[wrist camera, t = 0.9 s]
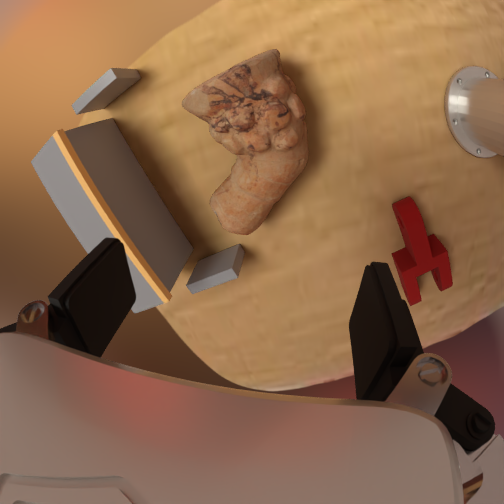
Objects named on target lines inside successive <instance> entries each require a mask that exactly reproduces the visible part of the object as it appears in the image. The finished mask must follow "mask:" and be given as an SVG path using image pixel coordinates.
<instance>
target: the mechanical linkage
mask: <svg viewBox="0 0 504 504" xmlns="http://www.w3.org/2000/svg"><path fill="white" fill-rule="evenodd" d="M392 207H393V210H394V213H395V216H396V219H397V221H398V224H399V227H400V230H401V233H402V236H403V239H404V242H405V246H406V247H405V248H403V249H401V250H398V251H396V252H394V253H392V257H393V259H394V262H395V265H396V268H397V271H398V275H399V278H400V281H401V284H402V287H403V290H404V293H405V295H406V298H407V300H408V302H409V305H410V306H412V305H414V304H416V303H418V302H420V301H421V295H420V291H419V287H418V283H417V279H416V277H418V276H420V275H422V274H424V273H426V272H428V271H430V270H431V272H432V275H433V278H434V280H435V282H436V284H437V286H438V288H439V290H440V291H443V290H445V289H447V288H449V287H451V286H452V285H453V282H452V275H451V268H450V262H449V257H448V251H447V250H446V248H445V247H444V246H443V245H442V243H441V242H440V241H439V240H438V238H437V237H436V236H435V235H434V234H432V235H430V236H428V237H427V233H426V229H425V226H424V222H423V219H422V216H421V214H420V212H419V210H418V208H417V206H416V204H415V202H414V201H413V200H412V198H411V197H406V198H404V199H402V200H400V201H398V202H396V203H394V204H392Z"/></svg>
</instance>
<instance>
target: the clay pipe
mask: <svg viewBox="0 0 504 504" xmlns="http://www.w3.org/2000/svg"><path fill="white" fill-rule="evenodd" d="M296 90H297V89H296V87H295V85H294V83H293V81H292V80H291V79H290V78H289V76H287V75H285V74H284V73H283V71H282V67H281V61H280V53H279V51H278V50H277V49H272V50H268V51H266V52H263V53H261V54H258V55H256V56H254V57H252V58H250V59H248V60H245V61H243V62H241V63H239V64H237V65H235V66H233V67H232V68H230V69H228V70H227V71H225V72H223V73H220V74H218V75H216V76H214V77H212V78H211V79H209V80H207V81H206V82H204V83H202V84H201V85H199V86H197V87H196V88H194V89H193V90H192V91H191V92H189V93H188V94H187V96H186V97H185V98H184V99H183V101H182V106H183V107H184V108H185V109H186V110H187V111H189V112H190V113H192V114H194V115H195V116H197V117H199V118H200V119H202V120H204V121H206V122H208V124H209V132H210V134H211V136H212V137H213V138H214V139H215V140H216V141H217V142H218V143H220V144H223V146H224V147H225V148H226V149H227V150H229V151H230V152H231V153H233V154H236V155H237V160H236V162H235V164H234V165H233V167H232V169H231V174H230V176H229V177H228V178H227V179H226V180H225V181H224V182H223V183H222V184H221V185H220V186H219V187H218V189H217V190H216V191H215V192H214V193H213V194H212V197H211V199H210V205H211V207H212V210H213V211H214V213H215V214H216V215H217V217H218V220H219V221H220V223H221V225H222V227H223V229H225V230H227V231H229V232H231V233H235V234H241V235H249V234H251V233H252V232H254V231H255V230H256V229H257V228H258V227H259V226H260V225H261V224H262V222H263V221H264V220H265V218H266V217H267V215H268V213H269V212H270V210H271V208H272V207H273V205H274V203H276V202H278V201H279V200H280V199H281V197H282V195H283V194H284V193H285V191H286V190H287V189H288V187H289V186H290V185H291V184H292V182H293V181H294V180H295V179H296V178H297V177H298V176H299V175H300V173H301V172H302V171H303V169H304V168H305V166H306V164H307V161H308V143H307V126H306V123H305V122H304V121H303V120H304V118H305V115H306V111H305V108H304V105H303V104H302V102H301V100H300V98H299V97H298V95H296V94H295V93H296Z"/></svg>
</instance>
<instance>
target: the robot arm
mask: <svg viewBox="0 0 504 504" xmlns="http://www.w3.org/2000/svg"><path fill="white" fill-rule="evenodd" d="M445 113H446V118H447V122H448V126H449V128H450V130H451V133H452V135H453V136H454V138H455V140H456V141H457V142H458V143H459V145H460V146H461V147H462V148H463V149H465V150H466V151H467V152H469V153H471V154H473V155H475V156H477V157H482V158H489V157H493V156H495V155H497V154H499V155H501V156H503V157H504V79H498V78H497V76H496V75H495V74H493V73H492V72H490V71H489V70H487V69H485V68H483V67H478V66H468V67H464V68H462V69H460V70H458V71H457V72H456V73H455V74H454V75H453V76H452V78H451V79H450V81H449V83H448V86H447V89H446V94H445ZM48 298H49V301H50V305H49V306H48V305H47V303H46V302H44V301H42V300H36V301H32V302H30V303H28V304H27V305H25V306H24V307H23V308H22V309H21V310H20V312H19V314H18V318H17V322H16V323H14V324H11V325H9V326H6V327H3V328H1V329H0V504H504V440H503V438H502V437H501V436H500V435H497V436H496V435H495V434H494V430H495V422H494V419H493V416H492V415H491V413H490V412H489V411H488V410H487V409H486V408H484V407H483V406H482V405H480V404H479V403H477V402H476V401H474V400H473V399H472V398H470V397H469V396H468V395H466V394H465V393H463V392H462V391H460V390H459V389H458V388H456V387H455V386H454V385H452V384H451V379H452V371H451V369H450V367H449V365H448V364H447V362H446V361H445V360H444V359H442V358H441V357H439V356H437V355H435V354H431V353H424V352H423V349H422V346H421V343H420V340H419V337H418V334H417V331H416V328H415V325H414V322H413V319H412V317H411V314H410V311H409V308H408V306H407V303H406V301H405V300H403V299H401V296H400V294H399V291H398V288H397V286H396V283H395V281H394V278H393V276H392V273H391V271H390V268H389V266H388V264H387V263H381V262H372V263H371V264H370V265H367V266H366V267H365V270H364V274H363V277H362V281H361V285H360V288H359V291H358V295H357V298H356V301H355V305H354V308H353V311H352V314H351V317H350V322H349V331H350V339H351V347H352V356H353V365H354V375H355V385H356V398H357V400H354V399H332V398H316V397H303V396H291V395H281V394H271V393H262V392H254V391H246V390H240V389H233V388H226V387H221V386H214V385H209V384H203V383H198V382H193V381H188V380H183V379H179V378H174V377H170V376H165V375H161V374H157V373H153V372H149V371H145V370H141V369H137V368H134V367H130V366H127V365H123V364H120V363H116V362H113V361H109V360H106V359H103V358H100V357H101V356H102V354H103V352H104V351H105V349H106V347H107V346H108V344H109V343H110V341H111V339H112V338H113V336H114V334H115V333H116V331H117V330H118V328H119V326H120V325H121V323H122V322H123V320H124V319H125V317H126V315H127V314H128V312H129V311H130V309H131V308H132V306H133V305H134V303H135V301H136V292H135V288H134V284H133V281H132V277H131V273H130V269H129V265H128V261H127V256H126V252H125V248H124V244H123V243H122V242H121V241H120V240H119V239H118V238H108V237H107V238H104V239H103V240H102V241H101V242H100V243H99V244H98V245H97V246H96V247H95V248H94V249H93V250H92V251H91V252H90V253H89V254H88V255H87V256H86V257H85V258H84V259H83V260H82V261H81V262H80V263H79V264H78V265H77V266H76V267H75V268H74V269H73V270H72V271H71V272H70V273H69V274H68V275H67V276H66V277H65V278H64V279H63V280H62V282H61V283H60V284H59V285H58V286H57V287H56V288H55V289H54V290H53V291H52V292H51V294H50V295H49V296H48Z"/></svg>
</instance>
